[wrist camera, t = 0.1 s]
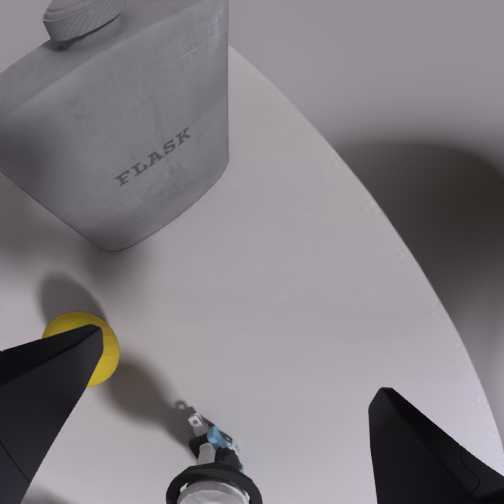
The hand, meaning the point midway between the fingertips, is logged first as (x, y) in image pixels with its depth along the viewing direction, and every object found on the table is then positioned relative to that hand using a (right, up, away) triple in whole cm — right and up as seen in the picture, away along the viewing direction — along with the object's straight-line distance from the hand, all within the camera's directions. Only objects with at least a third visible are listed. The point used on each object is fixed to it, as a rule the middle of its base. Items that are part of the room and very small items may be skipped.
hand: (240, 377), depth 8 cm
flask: (-8, +9, +18) cm, 21 cm away
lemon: (-12, -4, +14) cm, 19 cm away
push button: (-3, -12, +12) cm, 17 cm away
